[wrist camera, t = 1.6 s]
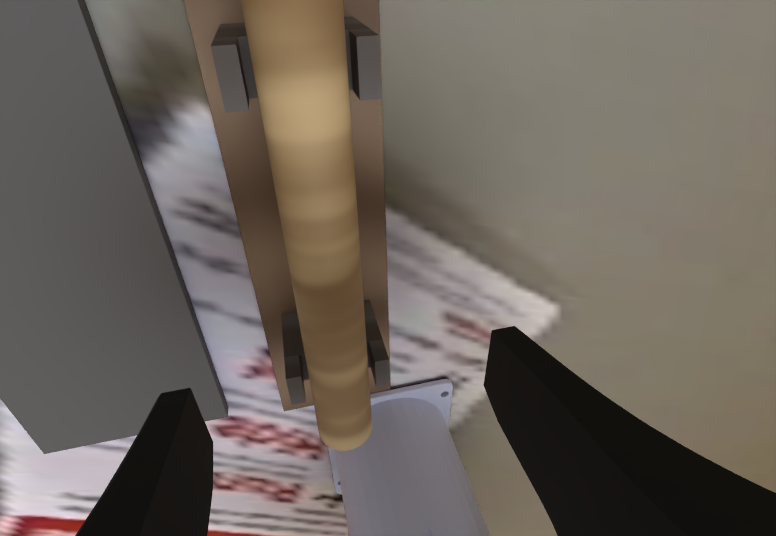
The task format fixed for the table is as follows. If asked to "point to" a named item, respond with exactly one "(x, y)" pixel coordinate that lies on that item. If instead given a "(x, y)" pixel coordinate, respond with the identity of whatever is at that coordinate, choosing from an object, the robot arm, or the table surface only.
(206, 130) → the table surface
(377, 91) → the hook stand
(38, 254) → the mat
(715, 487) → the robot arm
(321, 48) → the rail
